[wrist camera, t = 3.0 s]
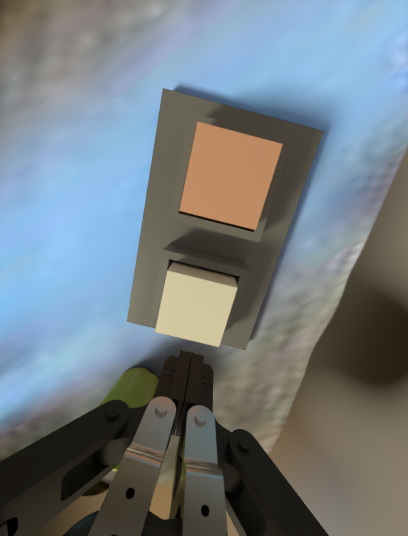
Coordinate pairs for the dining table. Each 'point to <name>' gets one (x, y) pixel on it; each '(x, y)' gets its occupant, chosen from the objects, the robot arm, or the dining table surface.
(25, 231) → the dining table surface
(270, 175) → the terracotta key
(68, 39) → the dining table surface
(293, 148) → the key panel
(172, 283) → the cream key
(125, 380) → the plant pot
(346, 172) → the dining table surface
